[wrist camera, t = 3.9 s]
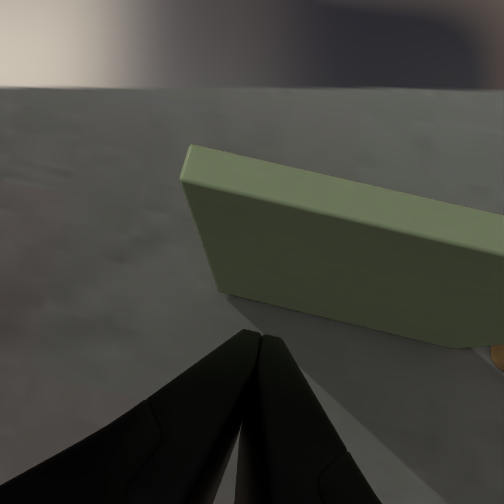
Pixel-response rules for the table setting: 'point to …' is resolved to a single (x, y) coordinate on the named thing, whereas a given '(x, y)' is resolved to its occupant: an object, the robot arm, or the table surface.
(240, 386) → the robot arm
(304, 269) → the door
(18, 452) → the table surface
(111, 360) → the table surface
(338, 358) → the table surface
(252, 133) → the table surface
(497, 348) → the door post
